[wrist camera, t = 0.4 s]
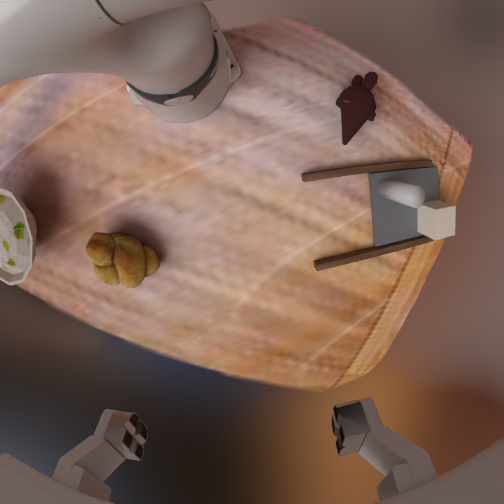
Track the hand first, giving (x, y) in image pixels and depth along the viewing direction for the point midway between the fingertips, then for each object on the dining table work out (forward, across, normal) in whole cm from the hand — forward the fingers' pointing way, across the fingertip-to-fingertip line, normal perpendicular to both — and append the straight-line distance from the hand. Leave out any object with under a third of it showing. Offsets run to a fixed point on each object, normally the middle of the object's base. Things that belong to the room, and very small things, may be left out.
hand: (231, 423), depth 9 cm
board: (+41, -32, +3) cm, 52 cm away
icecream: (+42, -20, -15) cm, 49 cm away
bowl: (+35, +46, -5) cm, 58 cm away
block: (+40, -37, +6) cm, 55 cm away
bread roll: (+37, +22, +6) cm, 44 cm away
